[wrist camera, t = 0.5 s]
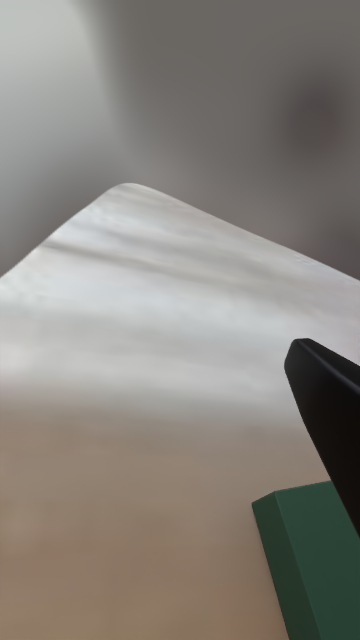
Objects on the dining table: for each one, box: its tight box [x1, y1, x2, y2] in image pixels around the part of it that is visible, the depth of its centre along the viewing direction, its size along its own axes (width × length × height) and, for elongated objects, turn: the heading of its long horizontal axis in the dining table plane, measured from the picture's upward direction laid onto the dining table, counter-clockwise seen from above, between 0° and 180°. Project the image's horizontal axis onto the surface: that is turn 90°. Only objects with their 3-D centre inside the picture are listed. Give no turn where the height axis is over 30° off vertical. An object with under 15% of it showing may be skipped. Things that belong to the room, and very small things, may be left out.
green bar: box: [252, 480, 360, 640], centre depth 16 cm, size 12×4×4 cm, turn 11°
